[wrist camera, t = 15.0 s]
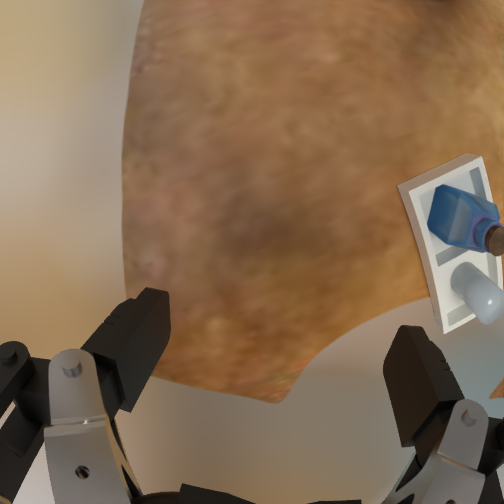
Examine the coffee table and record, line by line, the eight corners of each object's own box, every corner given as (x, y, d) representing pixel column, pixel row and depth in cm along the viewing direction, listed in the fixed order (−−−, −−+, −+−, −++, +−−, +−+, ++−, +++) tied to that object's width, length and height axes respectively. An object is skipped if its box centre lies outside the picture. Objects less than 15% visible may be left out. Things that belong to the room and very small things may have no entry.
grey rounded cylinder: (454, 262, 35) (486, 292, 26) (478, 261, 34) (511, 288, 26) (447, 293, 37) (475, 326, 28) (471, 290, 36) (500, 322, 28)
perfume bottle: (471, 193, 31) (525, 219, 20) (459, 236, 33) (507, 273, 22) (436, 181, 31) (489, 205, 20) (425, 227, 34) (470, 265, 23)
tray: (396, 185, 33) (408, 191, 30) (466, 153, 30) (481, 156, 26) (435, 319, 40) (444, 334, 36) (491, 287, 36) (503, 299, 33)
